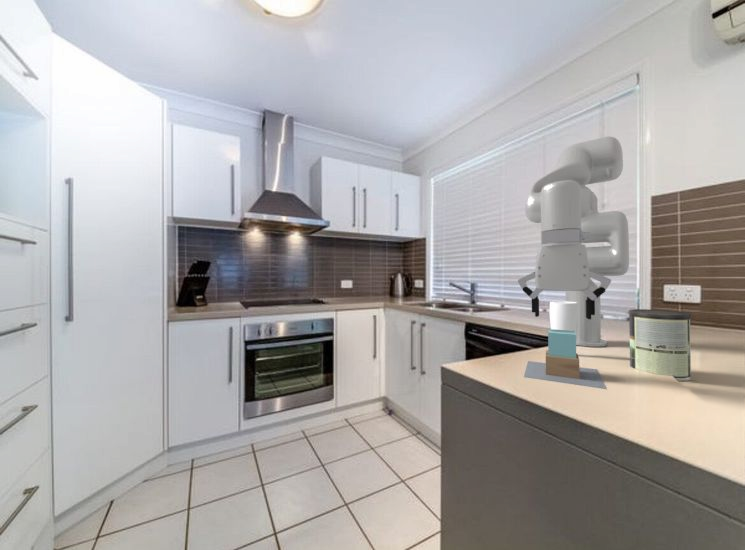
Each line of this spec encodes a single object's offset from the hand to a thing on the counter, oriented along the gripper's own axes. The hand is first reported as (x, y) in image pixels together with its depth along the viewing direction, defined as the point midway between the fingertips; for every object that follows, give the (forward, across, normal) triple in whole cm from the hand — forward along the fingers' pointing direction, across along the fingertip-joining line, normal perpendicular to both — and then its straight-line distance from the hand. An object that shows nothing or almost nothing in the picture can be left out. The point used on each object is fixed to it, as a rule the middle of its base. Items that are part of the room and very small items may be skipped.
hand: (561, 317), depth 67 cm
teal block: (+8, 0, +1) cm, 8 cm away
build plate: (+13, 0, +1) cm, 13 cm away
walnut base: (+12, 0, +1) cm, 12 cm away
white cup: (+14, -1, -20) cm, 24 cm away
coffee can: (+14, -19, -13) cm, 27 cm away
